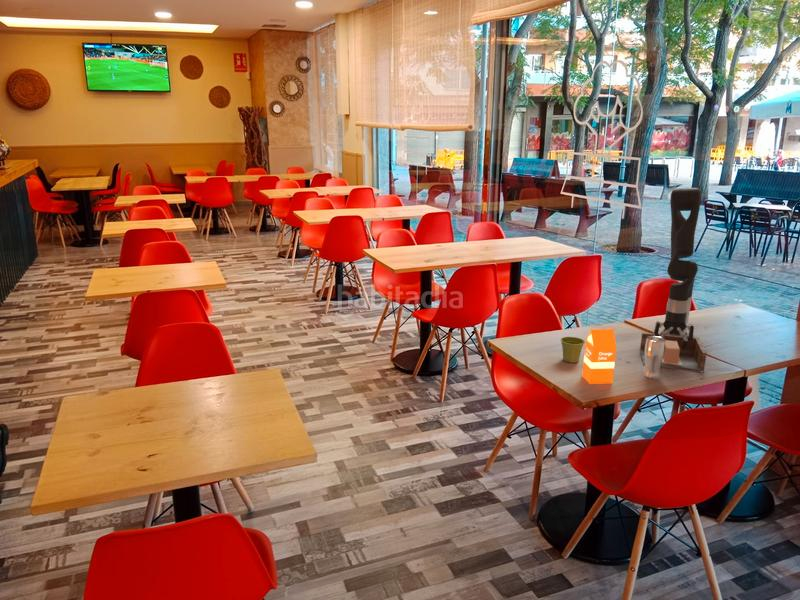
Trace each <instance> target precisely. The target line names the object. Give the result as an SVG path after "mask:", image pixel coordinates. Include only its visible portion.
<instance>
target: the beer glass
mask: <svg viewBox="0 0 800 600" xmlns="http://www.w3.org/2000/svg"><path fill="white" fill-rule="evenodd" d="M664 351H665V339H664V338H662V337H658V336H648V337H647V340H646V344H645V366H644V367H643V368H644V369H643V371H642V376H643V377H645V378H647V379H651V378H652V379H651V380H655V379H660V376H661V373H660V372H661V371H660V370H661V367H660V365H661V362H662V359H663V356H664Z"/></svg>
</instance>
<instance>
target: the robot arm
mask: <svg viewBox="0 0 800 600" xmlns="http://www.w3.org/2000/svg"><path fill="white" fill-rule="evenodd" d="M701 197H702V195H701V190H700V188H698V187H680V188H677V187H676V188H674V189H672V191H671V192H670V198H669V199H670V214H671V216H670V217H671V223H670V224H671V225H670V226H671V227H670V261H669V264H668V266H667V269H666V270H667V272H666V273H667V275H668V276H669V278H670V279H671V280H673V281H677V282H673V283H671V285H670V287H669V291H668V293H669V294H668V299H667V300H668V301H667V303H666V306H665V307H666V308H665V309H666V310H665V318H664V322H661V321H659V320H657V321H656V322H655V325H654V326H655V327H654V332H653V334H654V336H658V337H662V338H663V337H664V336H665V335H675V336H679V335H680V336H682V337H683V342H682V350H684V348H686V346H687V341H688V340H693V337H694V329H695V327H694V325H693V324H692V323H690V324H689V318H690V311H691V306H692V299H693V298H692V297H693V290H694V285H695V284H694V283H695V278H696V276H697V274H698V269H699V267H698V263H697V262H696V261H693V260H684V259H686V258H690V257H692V256H693V254H694V248H695V234H696V229H697V225H698V219H699V216H700V215H699V213H700V209H701V208H700V207H701V199H702V198H701ZM682 212H690V213H689V214H688V217H687V218H686V217H684V215H683V213H682ZM678 281H679V282H678ZM662 327H663V328H664V329H663V330H662V331H661V332H659V331H660V329H661V328H662ZM687 331H688V336H687V335H686V334H687Z"/></svg>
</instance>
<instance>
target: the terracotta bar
mask: <svg viewBox="0 0 800 600" xmlns="http://www.w3.org/2000/svg"><path fill="white" fill-rule="evenodd" d="M679 353H680V348H679V346H678V343H677V341H669V340H665V351H664V356H663V359H664V362H667V363H676V364H678V360H679Z"/></svg>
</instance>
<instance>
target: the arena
mask: <svg viewBox="0 0 800 600" xmlns="http://www.w3.org/2000/svg"><path fill="white" fill-rule="evenodd" d="M648 336H654V332H653V333H651V332H643V331H642V333H641V340H640V347H639V348H640V349H639V352H640V356H641V362H642V364H643V366H644V367H645V344H646V340H647V337H648ZM663 338H664V339H665V340H669V341H677V343H678V346H679V348H680V353H679V360H678V364H676V363H667V362H664V359H662V362H661V365H660V368H661V367H662V368H663V369H673V370H680V369H681V371H682V370H683V371H691V372H692V371H693V372H698V371H703V372H702V373H704V372H705V366H706V361H707V358H706V357H707V351H706V349H705V347H704V345H703V343H702V341H701V339H700V338H699V337H694V336H693V340H688V341H687V346H686V348H684V350H682V342H683V337H682V336H681V335H675V334H667V335H665V336H664V337H663ZM662 368H661V369H662Z"/></svg>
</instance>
